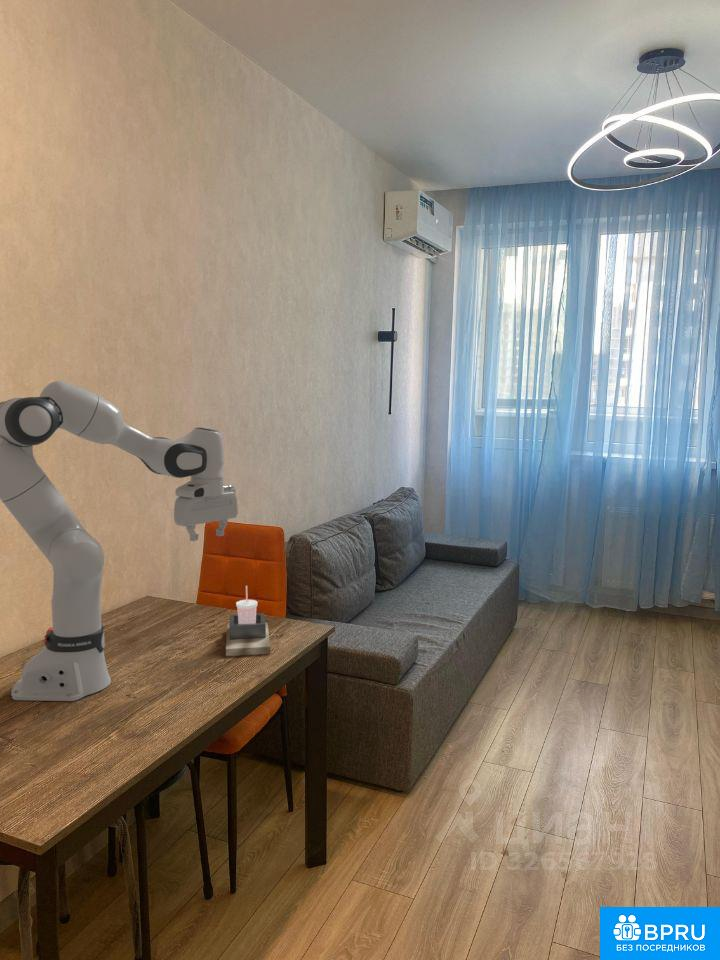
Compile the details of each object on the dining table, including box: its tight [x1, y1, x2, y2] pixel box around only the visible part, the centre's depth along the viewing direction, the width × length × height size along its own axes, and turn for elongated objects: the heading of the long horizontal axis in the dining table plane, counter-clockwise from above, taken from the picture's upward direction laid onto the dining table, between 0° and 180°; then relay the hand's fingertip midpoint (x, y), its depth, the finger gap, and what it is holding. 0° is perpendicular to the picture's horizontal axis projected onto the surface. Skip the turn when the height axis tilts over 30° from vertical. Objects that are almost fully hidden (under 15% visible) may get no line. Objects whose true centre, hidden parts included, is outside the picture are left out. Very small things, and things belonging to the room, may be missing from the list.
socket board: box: [225, 622, 272, 657], centre depth 214 cm, size 12×20×2 cm, turn 9°
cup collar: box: [229, 612, 266, 640], centre depth 215 cm, size 10×10×4 cm
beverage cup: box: [235, 585, 258, 624], centre depth 215 cm, size 6×6×14 cm
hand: (207, 538), depth 204 cm, fingers open, 8 cm apart
